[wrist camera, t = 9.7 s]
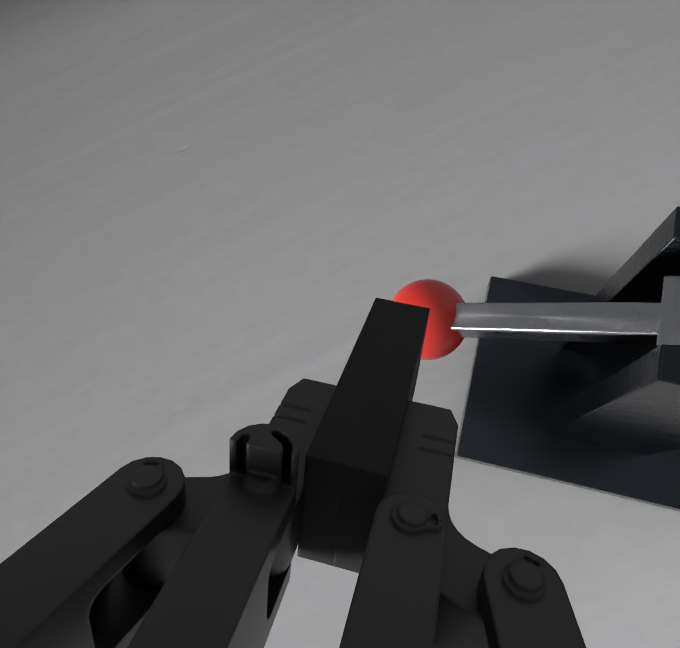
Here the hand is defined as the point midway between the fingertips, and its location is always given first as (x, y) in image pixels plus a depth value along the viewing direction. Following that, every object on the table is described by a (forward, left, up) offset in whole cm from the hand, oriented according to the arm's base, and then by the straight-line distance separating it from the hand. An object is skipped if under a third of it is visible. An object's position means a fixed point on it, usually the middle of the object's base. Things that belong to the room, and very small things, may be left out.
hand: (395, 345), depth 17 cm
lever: (+5, +3, -5) cm, 8 cm away
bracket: (+9, +3, -13) cm, 16 cm away
